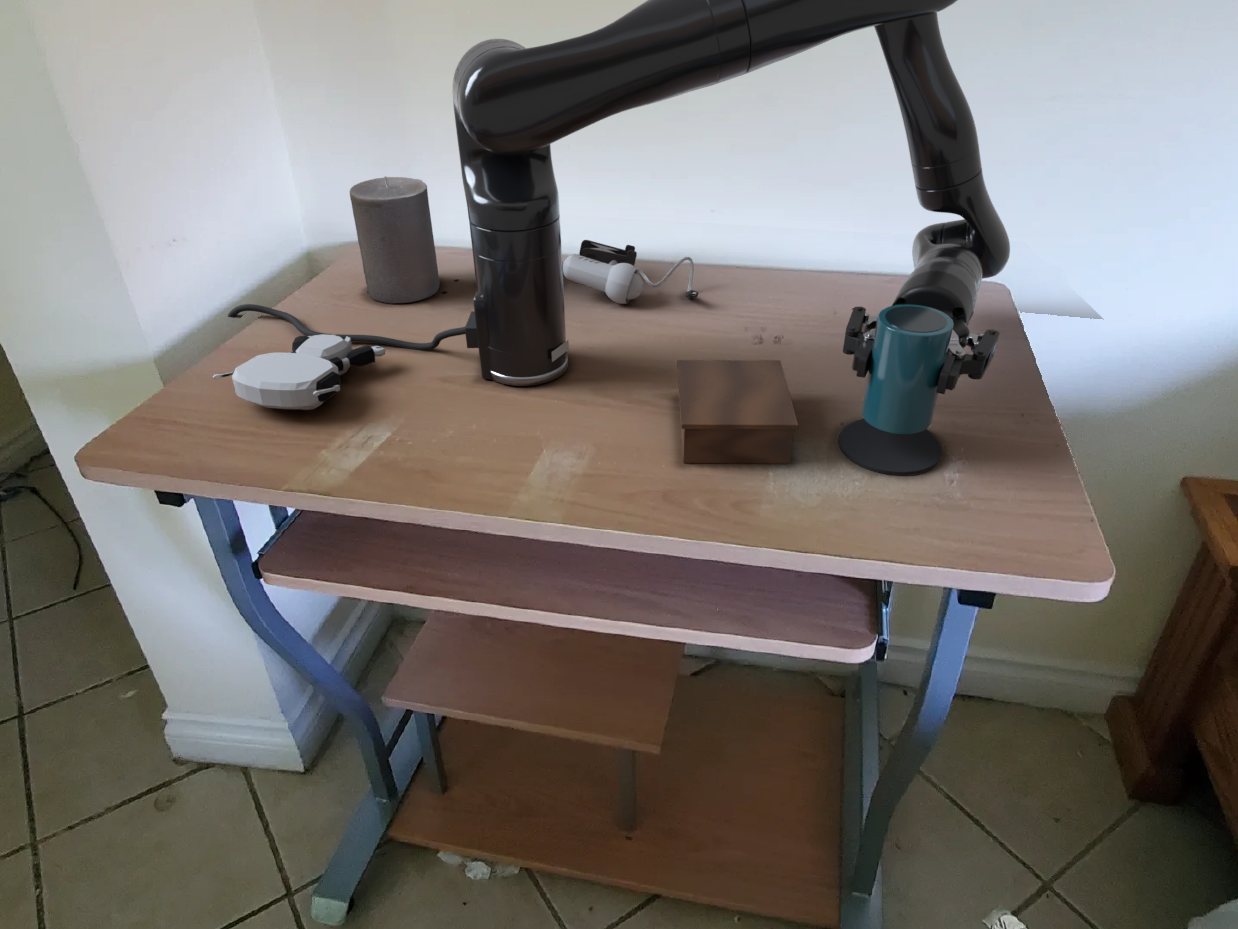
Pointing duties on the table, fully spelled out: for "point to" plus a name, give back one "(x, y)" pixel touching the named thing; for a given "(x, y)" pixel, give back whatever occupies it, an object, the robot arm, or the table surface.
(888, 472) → the coaster
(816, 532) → the table surface
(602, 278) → the clip-on lamp
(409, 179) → the pillar candle
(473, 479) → the table surface
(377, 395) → the table surface
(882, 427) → the tumbler
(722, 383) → the riser
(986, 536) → the table surface
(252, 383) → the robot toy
